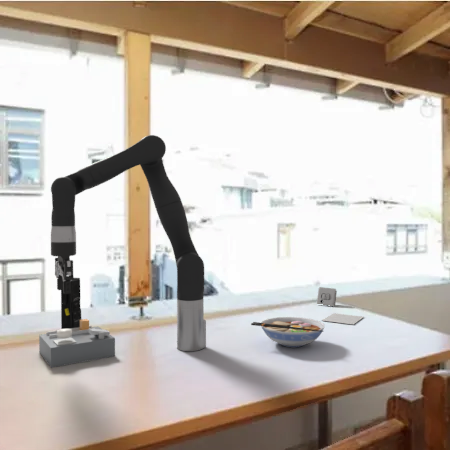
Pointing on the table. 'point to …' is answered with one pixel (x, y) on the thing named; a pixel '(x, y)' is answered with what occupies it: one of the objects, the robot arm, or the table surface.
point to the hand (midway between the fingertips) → (64, 291)
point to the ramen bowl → (291, 330)
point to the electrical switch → (326, 296)
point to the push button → (64, 333)
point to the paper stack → (343, 318)
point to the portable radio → (71, 306)
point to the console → (75, 347)
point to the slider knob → (84, 324)
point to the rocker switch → (98, 331)
